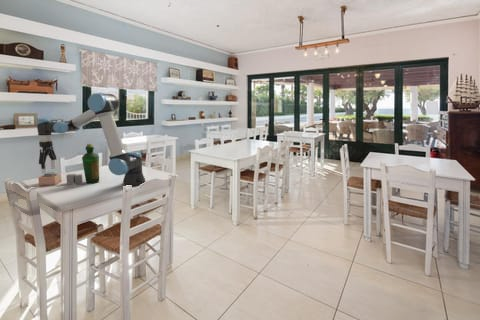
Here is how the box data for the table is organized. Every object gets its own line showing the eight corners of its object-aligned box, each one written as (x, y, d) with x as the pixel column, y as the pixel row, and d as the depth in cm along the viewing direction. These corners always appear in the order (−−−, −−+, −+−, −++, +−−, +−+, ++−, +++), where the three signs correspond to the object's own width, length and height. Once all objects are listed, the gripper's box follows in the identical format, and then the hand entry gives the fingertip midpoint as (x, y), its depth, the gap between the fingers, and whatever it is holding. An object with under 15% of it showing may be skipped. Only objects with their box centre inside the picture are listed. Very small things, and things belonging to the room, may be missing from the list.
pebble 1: (55, 181, 195) (54, 172, 194) (52, 183, 191) (51, 173, 190) (48, 181, 195) (47, 172, 193) (45, 183, 190) (44, 173, 189)
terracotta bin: (61, 181, 199) (60, 173, 198) (55, 185, 189) (54, 176, 188) (46, 181, 197) (45, 173, 196) (39, 185, 187) (38, 177, 186)
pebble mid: (76, 182, 197) (75, 173, 196) (74, 183, 193) (73, 175, 192) (69, 182, 197) (68, 173, 195) (67, 184, 193) (66, 175, 191)
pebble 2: (82, 182, 198) (82, 174, 197) (81, 183, 195) (81, 175, 193) (76, 182, 197) (75, 174, 196) (75, 184, 193) (74, 175, 192)
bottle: (101, 183, 196) (98, 144, 191) (84, 185, 191) (80, 145, 186) (100, 179, 205) (97, 143, 200) (84, 181, 200) (80, 143, 195)
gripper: (48, 138, 198) (51, 167, 202) (29, 143, 174) (33, 175, 178) (59, 138, 200) (62, 166, 204) (42, 143, 176) (46, 175, 180)
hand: (49, 171), depth 191 cm, fingers open, 13 cm apart
